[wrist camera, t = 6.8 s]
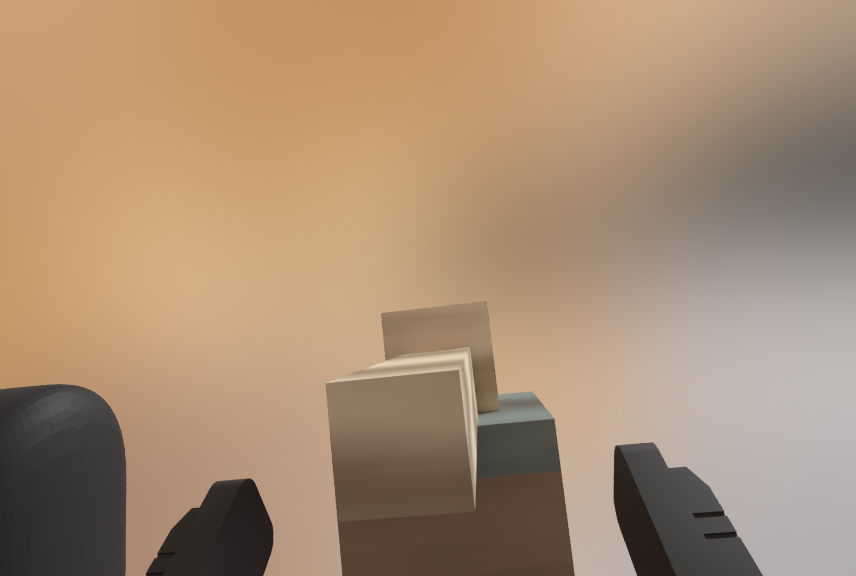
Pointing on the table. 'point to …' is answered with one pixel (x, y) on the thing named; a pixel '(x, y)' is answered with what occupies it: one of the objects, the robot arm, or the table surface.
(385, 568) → the teal-capped wooden post
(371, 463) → the maple key
